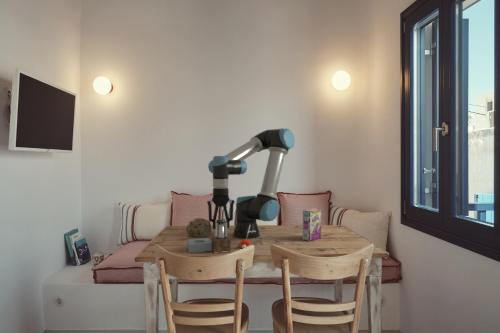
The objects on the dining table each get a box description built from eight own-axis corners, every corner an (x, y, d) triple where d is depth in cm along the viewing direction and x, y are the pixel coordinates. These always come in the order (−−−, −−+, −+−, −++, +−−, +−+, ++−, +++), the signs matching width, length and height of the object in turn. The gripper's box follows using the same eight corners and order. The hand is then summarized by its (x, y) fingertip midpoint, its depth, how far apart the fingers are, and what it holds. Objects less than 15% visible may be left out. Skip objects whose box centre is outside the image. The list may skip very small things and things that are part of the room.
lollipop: (257, 249, 168) (257, 225, 168) (238, 249, 167) (237, 225, 167) (255, 246, 174) (255, 222, 174) (237, 246, 173) (237, 223, 173)
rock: (213, 238, 194) (208, 222, 193) (188, 245, 193) (184, 229, 192) (213, 227, 214) (209, 213, 213) (191, 233, 213) (186, 219, 212)
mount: (227, 247, 171) (227, 235, 171) (230, 251, 163) (230, 239, 163) (211, 248, 169) (211, 236, 169) (214, 253, 161) (214, 240, 161)
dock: (209, 245, 175) (209, 237, 175) (212, 251, 164) (212, 243, 164) (187, 247, 172) (187, 239, 172) (189, 252, 162) (189, 244, 162)
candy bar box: (309, 241, 182) (309, 211, 182) (302, 240, 186) (302, 210, 186) (321, 238, 190) (321, 209, 190) (314, 236, 194) (314, 208, 194)
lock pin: (224, 248, 169) (224, 218, 168) (226, 251, 164) (225, 220, 164) (216, 249, 168) (215, 219, 167) (217, 251, 163) (217, 220, 163)
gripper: (203, 188, 160) (204, 238, 160) (239, 187, 164) (239, 235, 164) (202, 187, 167) (202, 234, 167) (236, 186, 171) (236, 232, 172)
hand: (221, 235), depth 166 cm, fingers closed on lock pin, 4 cm apart
